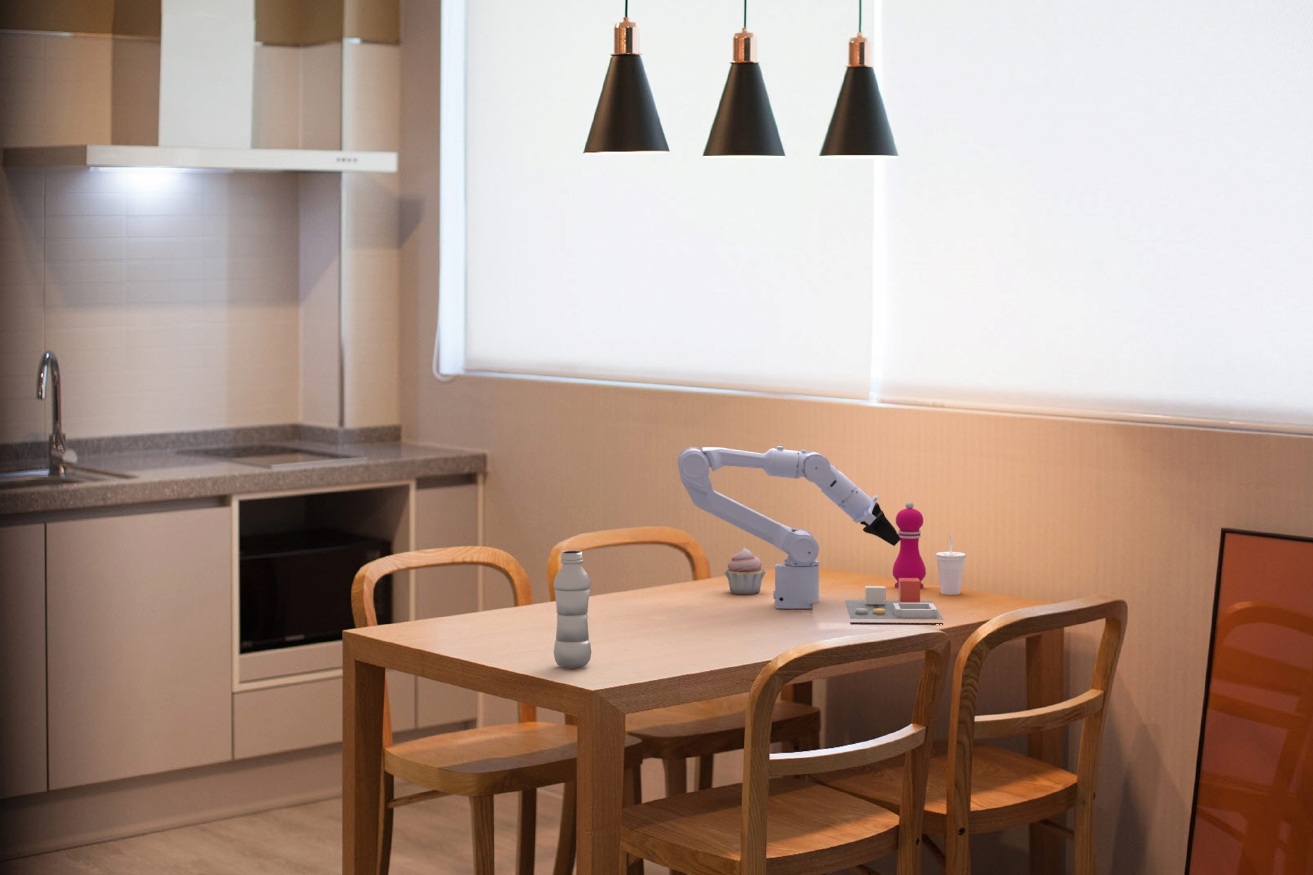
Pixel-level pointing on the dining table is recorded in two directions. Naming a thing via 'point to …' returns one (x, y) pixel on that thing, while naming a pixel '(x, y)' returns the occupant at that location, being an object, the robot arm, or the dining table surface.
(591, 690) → the dining table surface
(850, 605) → the panel
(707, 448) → the robot arm
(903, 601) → the cap
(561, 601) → the plastic bottle
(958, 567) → the smoothie
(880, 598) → the block
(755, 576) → the cupcake
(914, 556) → the pepper mill
